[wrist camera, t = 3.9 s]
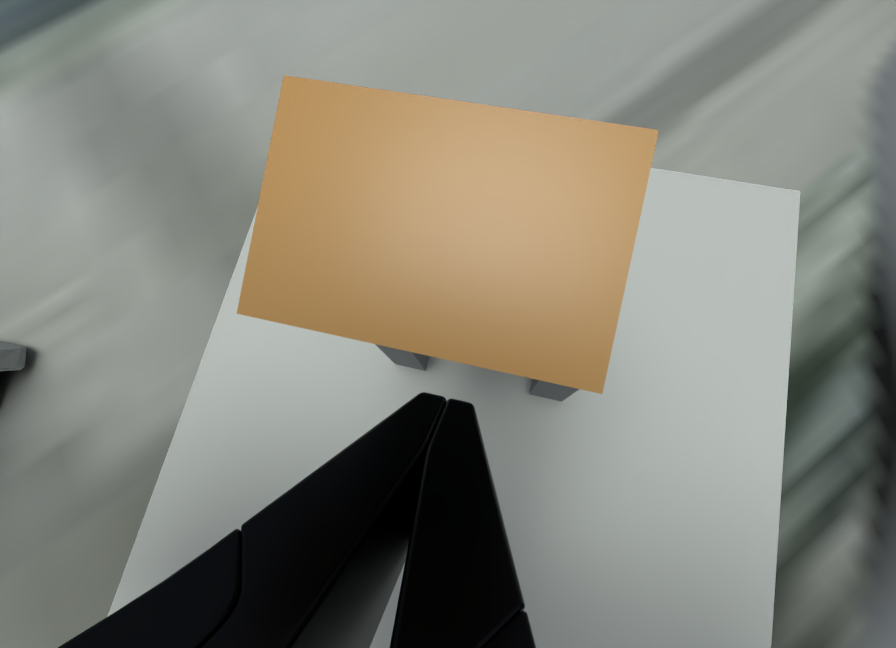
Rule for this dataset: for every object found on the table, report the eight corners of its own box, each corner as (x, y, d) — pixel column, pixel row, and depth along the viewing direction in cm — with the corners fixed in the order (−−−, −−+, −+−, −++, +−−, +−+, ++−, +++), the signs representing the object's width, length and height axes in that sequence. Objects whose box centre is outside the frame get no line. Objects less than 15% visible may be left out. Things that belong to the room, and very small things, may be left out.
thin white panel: (688, 938, 13) (841, 1302, 8) (122, 733, 16) (-87, 894, 10) (751, 231, 19) (870, 132, 13) (319, 158, 21) (256, 46, 15)
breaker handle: (535, 344, 14) (603, 394, 4) (438, 324, 15) (236, 313, 4) (549, 278, 14) (660, 130, 4) (451, 260, 15) (283, 76, 4)
